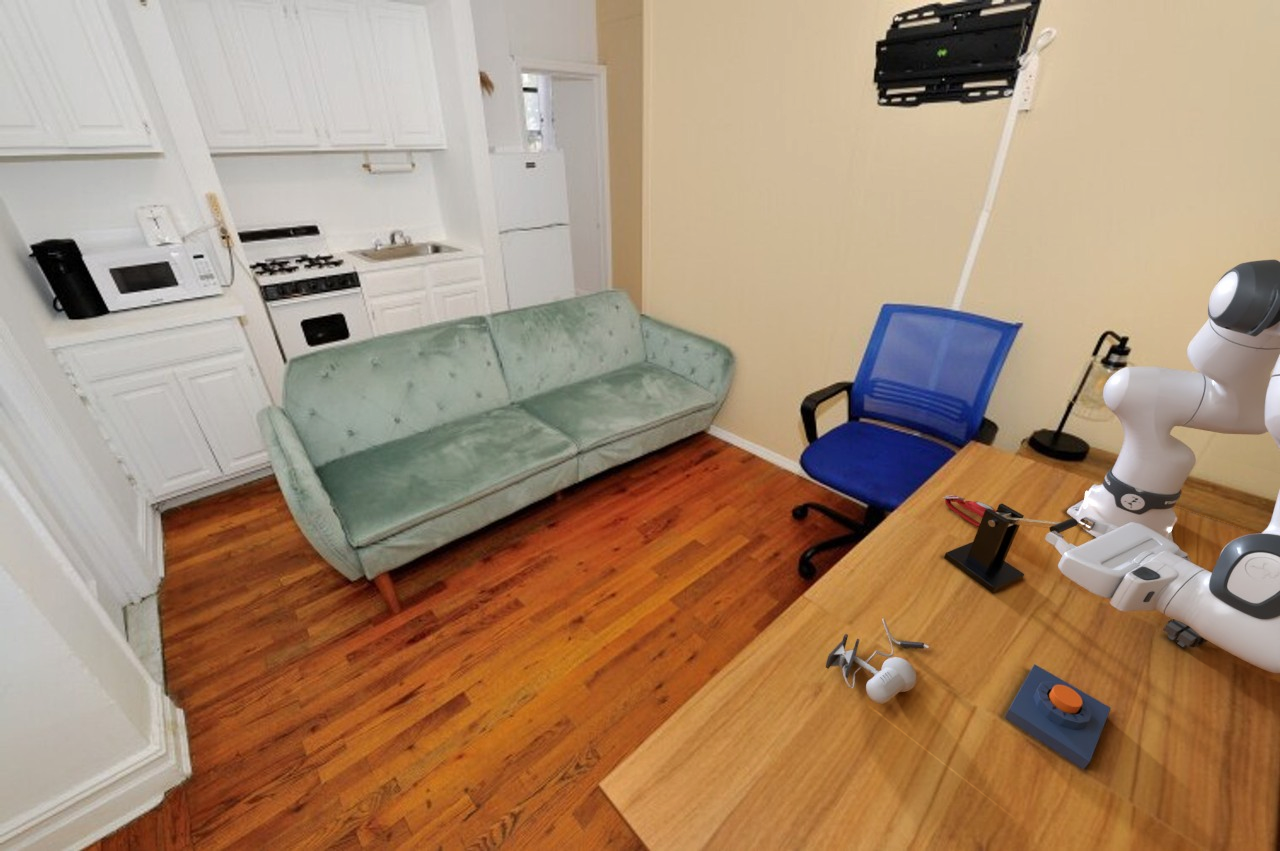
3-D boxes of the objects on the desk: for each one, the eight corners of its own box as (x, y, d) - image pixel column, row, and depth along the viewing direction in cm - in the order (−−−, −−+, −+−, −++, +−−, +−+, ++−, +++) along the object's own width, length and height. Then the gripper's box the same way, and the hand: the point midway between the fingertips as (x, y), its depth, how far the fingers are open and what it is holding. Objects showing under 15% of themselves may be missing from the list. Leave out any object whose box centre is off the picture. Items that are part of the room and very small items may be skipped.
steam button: (1052, 687, 79) (1056, 680, 78) (1081, 703, 76) (1085, 696, 76) (1045, 701, 77) (1049, 694, 76) (1074, 719, 74) (1079, 711, 74)
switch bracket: (1022, 579, 103) (1048, 522, 96) (992, 593, 100) (1017, 535, 93) (972, 546, 112) (993, 492, 105) (943, 557, 109) (963, 502, 102)
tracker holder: (993, 503, 124) (1015, 520, 115) (985, 518, 125) (1006, 536, 116) (944, 488, 125) (961, 503, 116) (936, 503, 127) (953, 520, 117)
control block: (1029, 672, 85) (1038, 656, 83) (1105, 716, 78) (1115, 700, 76) (1004, 717, 78) (1012, 701, 76) (1083, 770, 72) (1095, 754, 70)
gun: (1263, 619, 93) (1282, 587, 88) (1179, 673, 91) (1193, 643, 86) (1231, 601, 97) (1247, 569, 91) (1150, 653, 95) (1162, 623, 89)
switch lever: (1079, 528, 90) (1076, 515, 90) (1059, 537, 88) (1056, 524, 88) (1005, 521, 103) (1002, 509, 103) (986, 528, 101) (984, 516, 101)
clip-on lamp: (871, 634, 96) (817, 670, 85) (879, 605, 94) (824, 639, 83) (936, 674, 87) (884, 720, 76) (945, 643, 85) (894, 686, 74)
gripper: (1207, 545, 81) (1108, 498, 92) (1132, 585, 74) (1035, 529, 85) (1188, 574, 84) (1094, 525, 95) (1114, 615, 77) (1022, 557, 88)
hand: (1065, 527), depth 90 cm, fingers open, 8 cm apart
